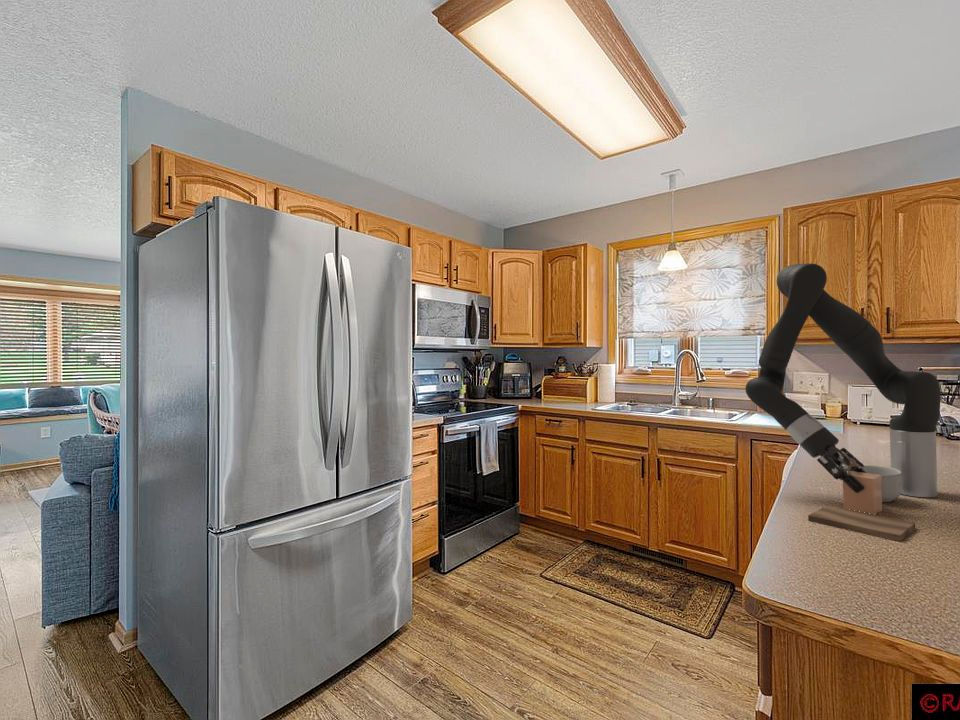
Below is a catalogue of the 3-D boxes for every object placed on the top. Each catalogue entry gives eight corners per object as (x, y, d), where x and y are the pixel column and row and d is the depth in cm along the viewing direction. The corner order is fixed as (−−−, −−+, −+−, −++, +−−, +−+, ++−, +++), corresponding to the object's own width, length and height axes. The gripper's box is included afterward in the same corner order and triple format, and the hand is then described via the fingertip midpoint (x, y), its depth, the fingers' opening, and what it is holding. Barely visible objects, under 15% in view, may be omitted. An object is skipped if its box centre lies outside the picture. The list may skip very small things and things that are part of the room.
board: (827, 510, 114) (827, 505, 114) (915, 528, 101) (915, 522, 101) (808, 520, 107) (808, 515, 107) (899, 541, 94) (899, 535, 94)
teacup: (913, 506, 116) (912, 474, 116) (863, 504, 118) (862, 472, 118) (877, 490, 129) (876, 462, 129) (833, 489, 131) (832, 461, 131)
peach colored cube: (851, 504, 118) (851, 470, 118) (882, 509, 113) (881, 475, 113) (843, 508, 114) (842, 474, 114) (874, 515, 110) (873, 479, 110)
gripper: (812, 429, 116) (871, 484, 107) (833, 424, 124) (889, 474, 115) (789, 447, 120) (843, 501, 111) (810, 441, 129) (863, 491, 119)
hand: (867, 487), depth 113 cm, fingers open, 8 cm apart
